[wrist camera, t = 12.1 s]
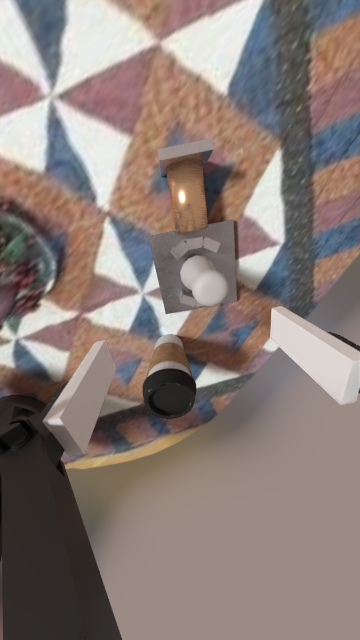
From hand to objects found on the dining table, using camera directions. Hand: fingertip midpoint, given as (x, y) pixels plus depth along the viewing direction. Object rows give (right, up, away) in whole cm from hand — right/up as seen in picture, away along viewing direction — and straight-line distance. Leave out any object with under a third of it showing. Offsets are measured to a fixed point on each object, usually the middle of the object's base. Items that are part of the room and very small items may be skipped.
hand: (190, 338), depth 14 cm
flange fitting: (+1, +14, +17) cm, 22 cm away
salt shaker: (+2, +10, +18) cm, 21 cm away
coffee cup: (-3, -4, +26) cm, 26 cm away
